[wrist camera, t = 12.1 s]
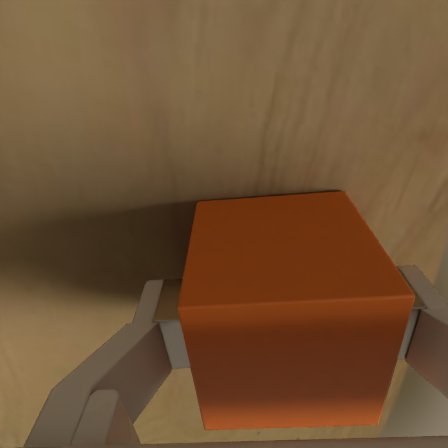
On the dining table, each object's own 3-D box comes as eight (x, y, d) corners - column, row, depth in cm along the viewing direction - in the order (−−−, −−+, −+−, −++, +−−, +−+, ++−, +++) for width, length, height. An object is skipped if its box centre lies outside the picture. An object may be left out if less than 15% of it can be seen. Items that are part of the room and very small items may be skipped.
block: (196, 200, 10) (176, 308, 6) (345, 190, 10) (417, 295, 6) (212, 305, 12) (204, 431, 8) (332, 299, 12) (379, 426, 8)
